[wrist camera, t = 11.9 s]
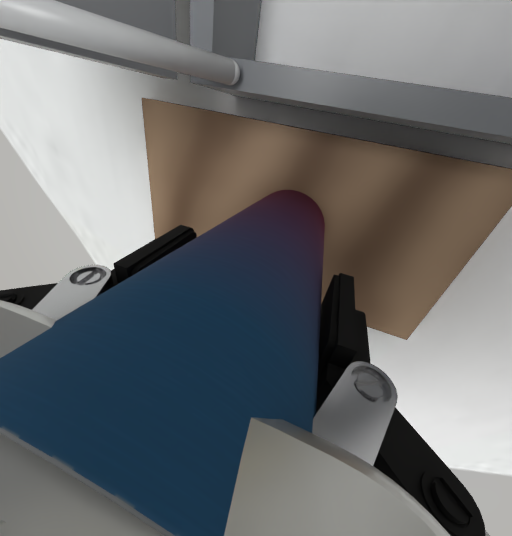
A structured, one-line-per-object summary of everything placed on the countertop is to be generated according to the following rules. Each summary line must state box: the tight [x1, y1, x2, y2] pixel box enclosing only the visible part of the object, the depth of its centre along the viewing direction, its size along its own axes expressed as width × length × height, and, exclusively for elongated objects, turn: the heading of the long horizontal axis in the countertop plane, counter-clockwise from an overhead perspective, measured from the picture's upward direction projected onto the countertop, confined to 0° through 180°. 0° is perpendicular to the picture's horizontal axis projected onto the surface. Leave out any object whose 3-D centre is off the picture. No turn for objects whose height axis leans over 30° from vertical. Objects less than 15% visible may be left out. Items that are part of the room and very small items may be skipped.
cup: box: [0, 190, 325, 536], centre depth 10 cm, size 7×7×15 cm
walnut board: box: [142, 98, 512, 340], centre depth 17 cm, size 22×12×1 cm, turn 80°
